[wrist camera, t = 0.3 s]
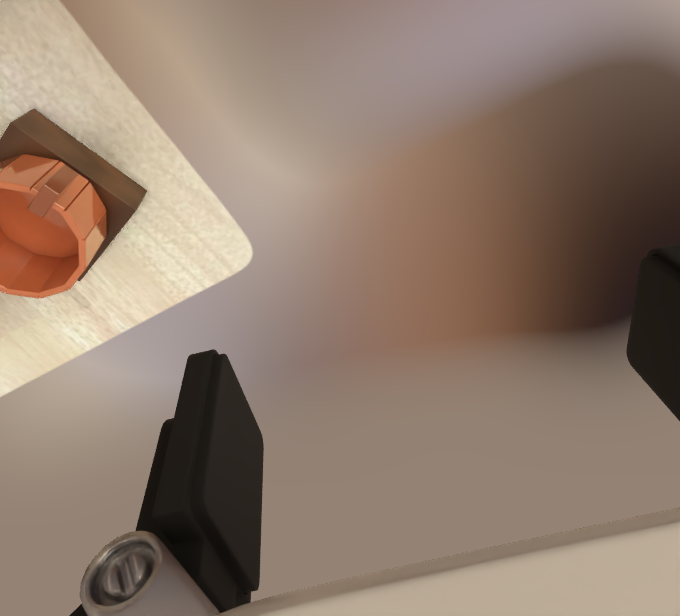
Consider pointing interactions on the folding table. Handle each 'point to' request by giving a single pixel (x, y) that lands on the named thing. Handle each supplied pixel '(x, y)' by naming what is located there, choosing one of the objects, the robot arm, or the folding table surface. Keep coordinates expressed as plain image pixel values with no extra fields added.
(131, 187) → the stand
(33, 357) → the folding table surface
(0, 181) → the orange stave bucket
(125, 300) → the folding table surface
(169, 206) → the folding table surface
